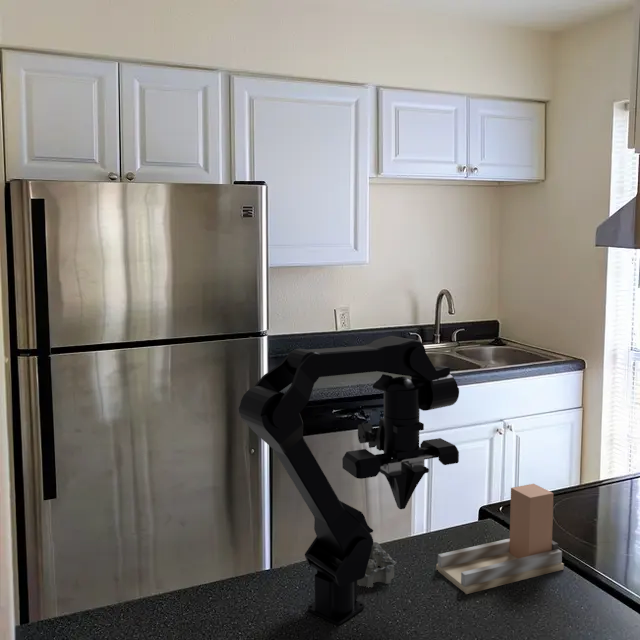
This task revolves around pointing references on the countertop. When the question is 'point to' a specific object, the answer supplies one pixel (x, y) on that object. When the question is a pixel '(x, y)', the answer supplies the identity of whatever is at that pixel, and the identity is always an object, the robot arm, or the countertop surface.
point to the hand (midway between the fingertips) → (401, 508)
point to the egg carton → (376, 573)
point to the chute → (494, 565)
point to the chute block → (530, 520)
